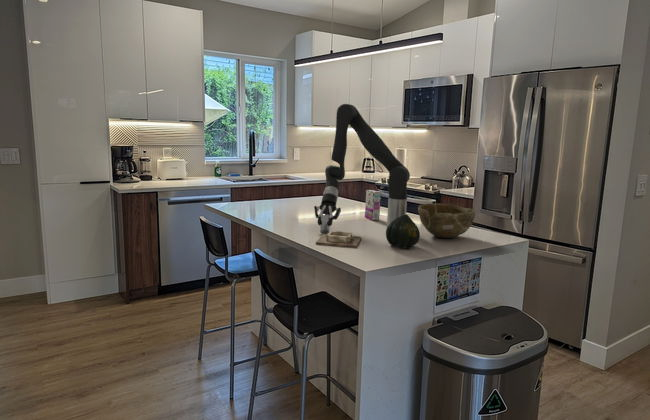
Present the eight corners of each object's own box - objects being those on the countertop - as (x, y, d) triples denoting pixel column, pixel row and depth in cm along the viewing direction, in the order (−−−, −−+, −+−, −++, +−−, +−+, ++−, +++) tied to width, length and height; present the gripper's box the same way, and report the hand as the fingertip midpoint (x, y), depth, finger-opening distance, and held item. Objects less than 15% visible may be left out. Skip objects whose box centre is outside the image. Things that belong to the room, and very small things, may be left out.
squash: (388, 239, 189) (411, 212, 190) (375, 232, 203) (396, 207, 204) (410, 260, 193) (432, 233, 194) (395, 252, 207) (416, 227, 209)
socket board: (361, 238, 211) (361, 231, 210) (356, 248, 193) (356, 240, 193) (323, 235, 214) (324, 228, 214) (315, 244, 197) (315, 236, 196)
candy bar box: (379, 220, 257) (381, 192, 254) (371, 220, 255) (373, 192, 252) (372, 216, 267) (373, 189, 264) (364, 217, 266) (365, 189, 263)
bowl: (460, 247, 202) (463, 214, 199) (406, 237, 218) (408, 206, 215) (480, 237, 224) (483, 208, 221) (430, 228, 240) (432, 201, 237)
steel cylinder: (330, 231, 223) (330, 213, 221) (328, 233, 219) (329, 215, 217) (321, 230, 224) (321, 213, 222) (319, 232, 219) (320, 214, 218)
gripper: (315, 191, 227) (309, 219, 217) (343, 193, 224) (338, 221, 214) (317, 200, 233) (311, 228, 223) (344, 202, 230) (339, 230, 220)
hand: (324, 224), depth 219 cm, fingers closed on steel cylinder, 4 cm apart
